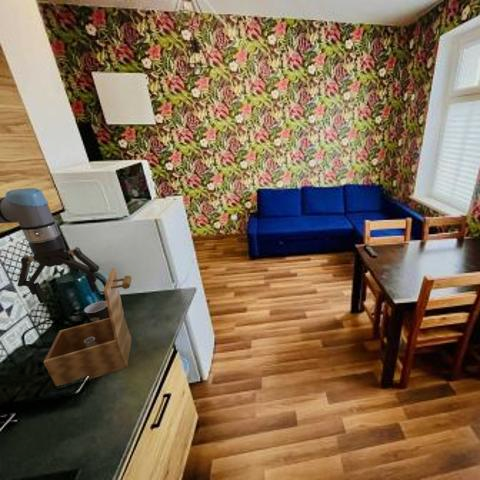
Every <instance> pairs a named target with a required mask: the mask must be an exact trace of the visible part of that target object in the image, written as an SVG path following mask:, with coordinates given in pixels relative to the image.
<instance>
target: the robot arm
mask: <svg viewBox="0 0 480 480" xmlns="http://www.w3.org/2000/svg"><path fill="white" fill-rule="evenodd" d="M11 223H13V224H14V223H18V225H19V227H20V230H21V231H22V233H23V236H24V237H25V239H26V241H27V242H28V246H29V248H30V250H31V252H32V254H33V255H28V254H25V255H24V256H22V258H20V263H21V268H20V272H19V276H18V281H17V287H19V288H20V287H21V288H22V287H27V288H28V290H29V292H30V294H31V295H32V296H36V298H37V300H38V303H39V304H41V305H42V304H44V303H45V302H46V300H47V296H46V295H45V293H44V291H43V289H42V287H41V284H40V282H39V281H37V279H38V278H39V276H40V275H41V273H42V272H43V270H44V269H45V267H48V268H52V267H55V266H56V267H57V266H62V265H65V266H69V267H72V268H73V269H75V270H77V271H80V272H82V273H84V274H86V275H85V278H86V281H87V282H88V285H89V287H90V290H91V292H92V293H95V292H96V291H97V285H96V282H97V276H96V273H97V272H99V270H100V269H101V267H100V266H99V265H98V264H97V263H96V262H94V261H93V260H92V259H91V258H90V257H88V256H87V255H86V254H84V253H83V251H82V250H81V248H80V247H78V246H75V247H74V248H73V249H67V248H66V247H67V246H66V245H65V241H64V240H63V237H62V235H61V232H60V230H59V228H58V225H57V223H56V221H55V219H54V216H53V214H52V212H51V209H50V206H49V202H48V201H47V199H46V197H45V195H44V193H43V191H42V190H41V189H39V188H37V187H26V188H17V189H11V190H8V191H6V192H5V197H0V224H11ZM60 235H61V236H60ZM69 255H72V256H74V257H75V258H76V259H78V260H79V261H80V262H79V261H77V260H75V259H74V258H72V257H71V256H69ZM33 261H35V262H37V263H39V265H38V266H37V268H36V269H35V271H34V272H33V274H32V275H31V277H30V278H29V280H28V276H29V273H30V268H31V264H32V263H33ZM81 262H82V263H81ZM36 281H37V282H36Z"/></svg>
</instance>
